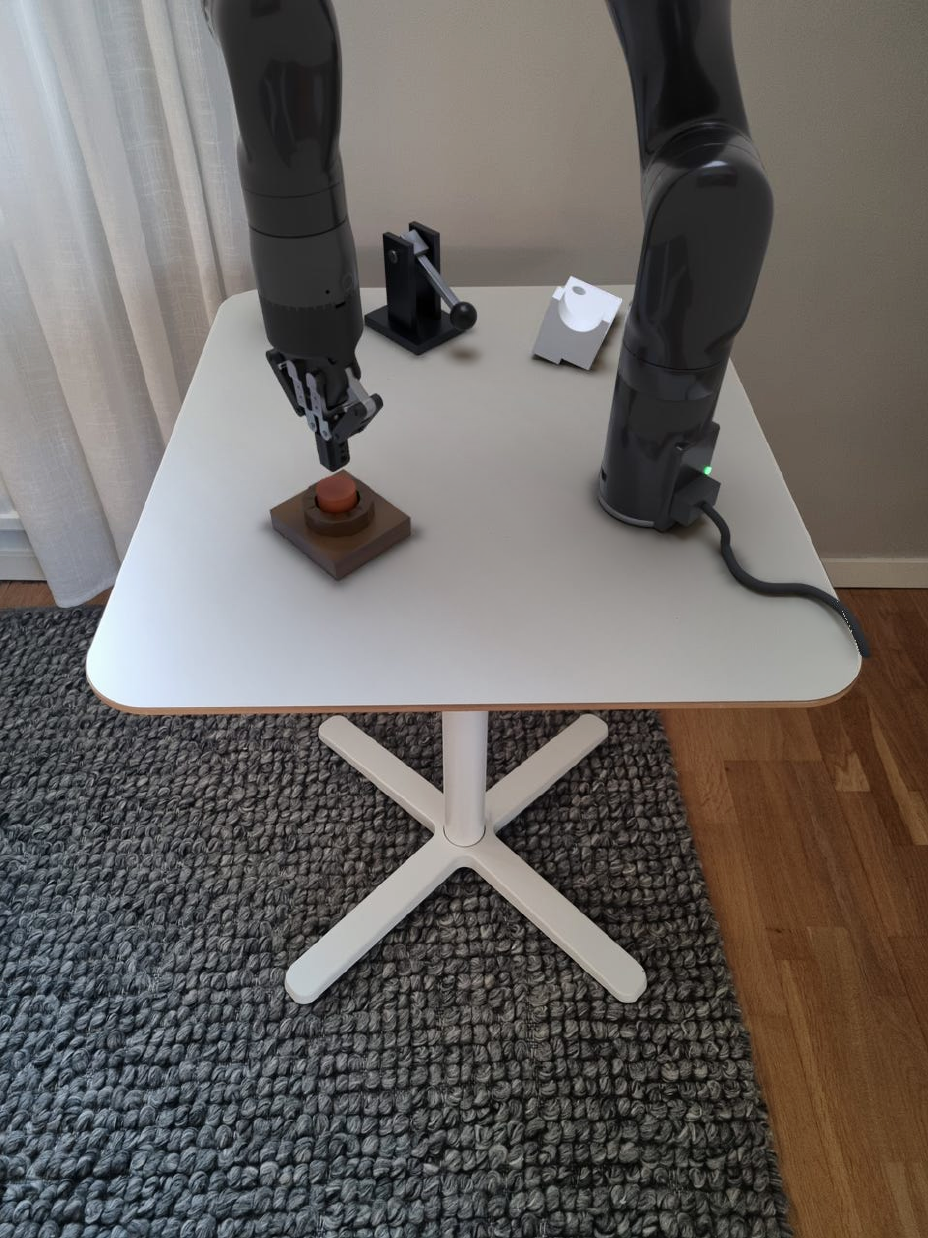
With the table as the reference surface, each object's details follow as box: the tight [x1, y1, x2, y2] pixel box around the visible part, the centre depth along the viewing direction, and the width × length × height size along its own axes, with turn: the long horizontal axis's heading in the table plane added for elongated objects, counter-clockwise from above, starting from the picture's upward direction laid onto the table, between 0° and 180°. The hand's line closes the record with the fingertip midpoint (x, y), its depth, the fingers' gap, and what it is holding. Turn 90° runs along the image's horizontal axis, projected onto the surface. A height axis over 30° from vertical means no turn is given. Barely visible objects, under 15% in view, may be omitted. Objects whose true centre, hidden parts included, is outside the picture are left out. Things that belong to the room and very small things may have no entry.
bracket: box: [530, 275, 623, 371], centre depth 104 cm, size 13×7×8 cm, turn 160°
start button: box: [316, 474, 357, 514], centre depth 80 cm, size 4×4×2 cm
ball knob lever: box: [399, 230, 478, 332], centre depth 101 cm, size 13×3×3 cm, turn 44°
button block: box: [268, 468, 412, 581], centre depth 82 cm, size 10×9×4 cm
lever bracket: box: [363, 220, 466, 356], centre depth 104 cm, size 10×8×12 cm
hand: (335, 464), depth 77 cm, fingers closed
